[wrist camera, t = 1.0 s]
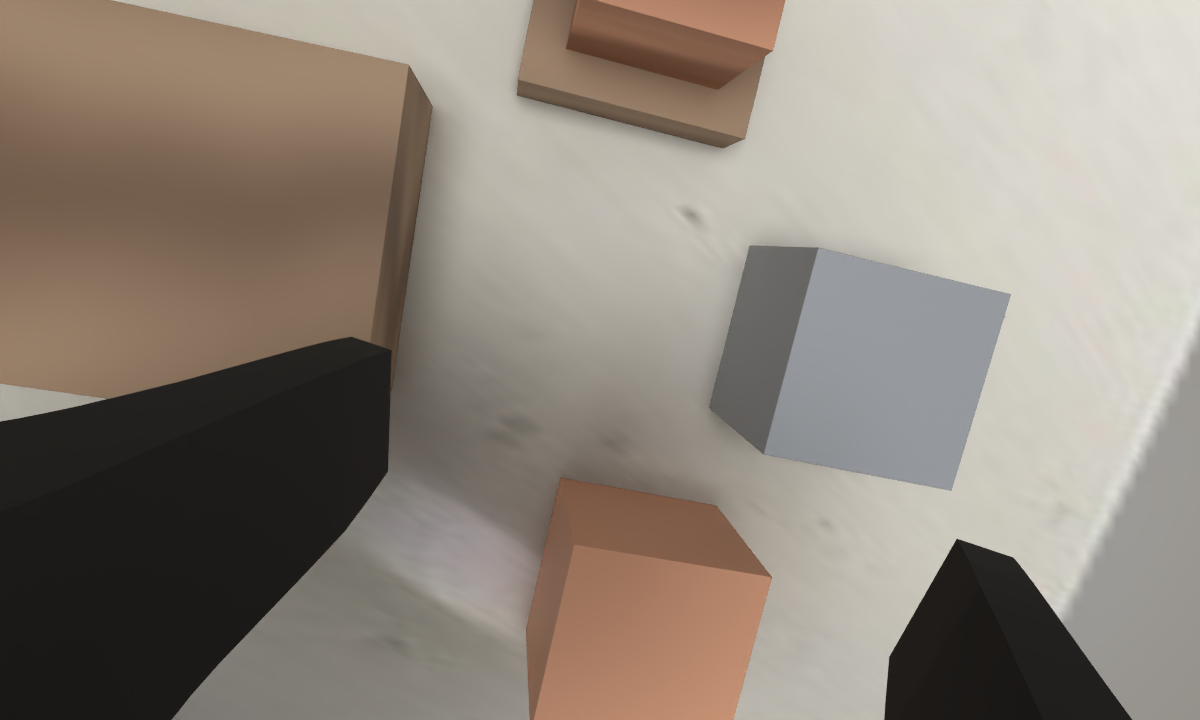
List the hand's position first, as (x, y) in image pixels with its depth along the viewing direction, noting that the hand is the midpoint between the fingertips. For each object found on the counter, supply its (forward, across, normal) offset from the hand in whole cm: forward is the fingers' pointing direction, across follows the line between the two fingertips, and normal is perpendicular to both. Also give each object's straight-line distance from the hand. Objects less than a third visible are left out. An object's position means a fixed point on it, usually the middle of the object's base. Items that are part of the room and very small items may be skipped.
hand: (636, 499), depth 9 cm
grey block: (+14, -2, +4) cm, 15 cm away
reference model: (+15, +5, -4) cm, 16 cm away
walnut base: (+9, +13, +2) cm, 16 cm away
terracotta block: (+10, +1, +11) cm, 14 cm away
